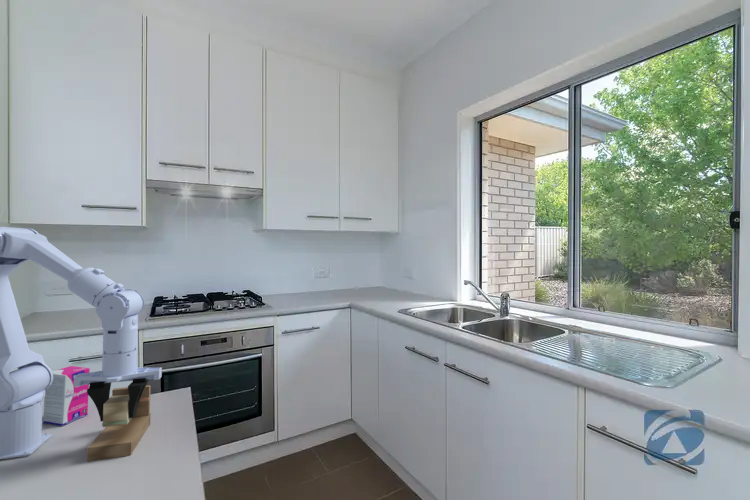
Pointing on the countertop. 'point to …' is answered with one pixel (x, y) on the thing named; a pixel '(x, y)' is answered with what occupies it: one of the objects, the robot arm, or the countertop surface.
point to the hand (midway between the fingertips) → (118, 417)
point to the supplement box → (65, 397)
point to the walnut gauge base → (122, 431)
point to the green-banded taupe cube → (116, 411)
